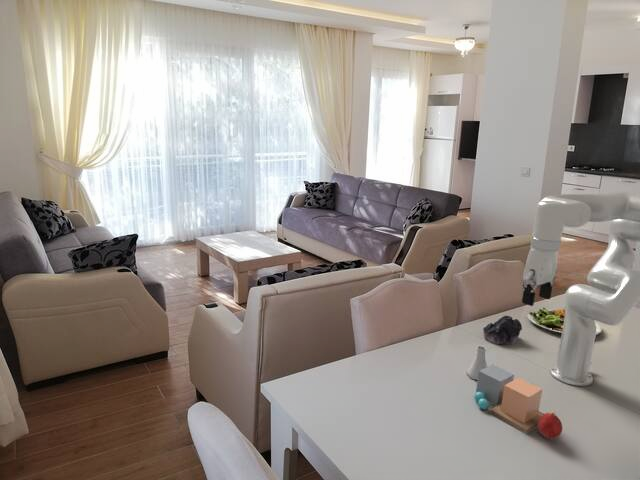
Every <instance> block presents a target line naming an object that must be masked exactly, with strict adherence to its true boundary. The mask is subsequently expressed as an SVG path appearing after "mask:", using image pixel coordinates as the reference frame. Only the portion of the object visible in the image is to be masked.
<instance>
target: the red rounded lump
mask: <svg viewBox="0 0 640 480" xmlns="http://www.w3.org/2000/svg"><path fill="white" fill-rule="evenodd" d="M537 429H538V430H539V432H540V433H541V435H542V436H544V438H545V439H547V440H551V439H555V438H558V437H559V436H560V435H561V433H562V432H563V424H562V421H561V419H560V418H559V417H558V416H557V415H556V414H555V411H551V412H546V413H544V415H543V416H541V417H540V418H539V420H538V426H537Z"/></svg>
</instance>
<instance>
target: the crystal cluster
mask: <svg viewBox="0 0 640 480" xmlns="http://www.w3.org/2000/svg"><path fill="white" fill-rule="evenodd" d="M522 330H523V326H522V323H521V321H520V320H519V319H517V318H515V319H513V317H512V316H511V315H504V316H502V317H501V318H499V319H498V320H496V321H495V322H494V323H492V322H490V323H488V324H487V325H486V326H485V327H483V329H482V331H483V338H485V339H486V340H488V342H491V343H493V344H498V345H506V346H507V345H514V344H516V342H517V340H518V338H519V336H520V333H521V331H522Z"/></svg>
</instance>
